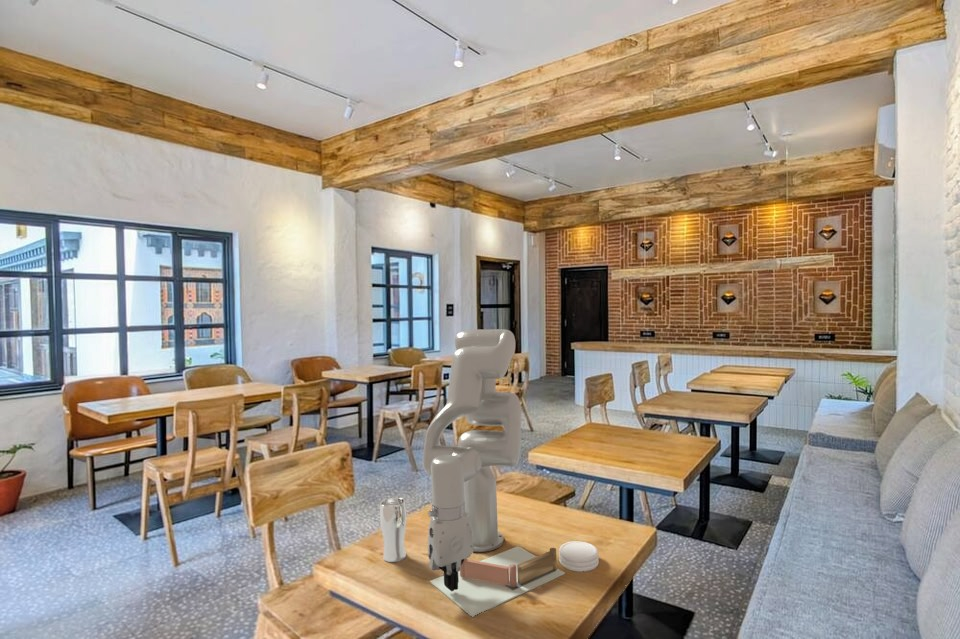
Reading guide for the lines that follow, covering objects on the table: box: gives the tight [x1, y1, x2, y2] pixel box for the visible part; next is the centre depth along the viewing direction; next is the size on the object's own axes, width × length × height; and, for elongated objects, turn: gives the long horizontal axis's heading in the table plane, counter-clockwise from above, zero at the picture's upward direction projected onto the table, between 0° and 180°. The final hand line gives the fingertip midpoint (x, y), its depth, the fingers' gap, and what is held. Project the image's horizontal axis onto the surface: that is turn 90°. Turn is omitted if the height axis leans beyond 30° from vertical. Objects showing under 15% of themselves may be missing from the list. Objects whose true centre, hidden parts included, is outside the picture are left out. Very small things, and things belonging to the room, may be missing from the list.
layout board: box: [429, 545, 566, 617], centre depth 128 cm, size 18×28×1 cm, turn 126°
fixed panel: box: [517, 547, 558, 584], centre depth 127 cm, size 2×12×5 cm, turn 126°
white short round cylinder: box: [558, 540, 600, 573], centre depth 134 cm, size 10×10×4 cm
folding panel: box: [460, 558, 517, 587], centre depth 125 cm, size 15×2×5 cm, turn 67°
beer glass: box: [379, 497, 407, 563], centre depth 140 cm, size 7×7×15 cm
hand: (451, 587), depth 121 cm, fingers closed
